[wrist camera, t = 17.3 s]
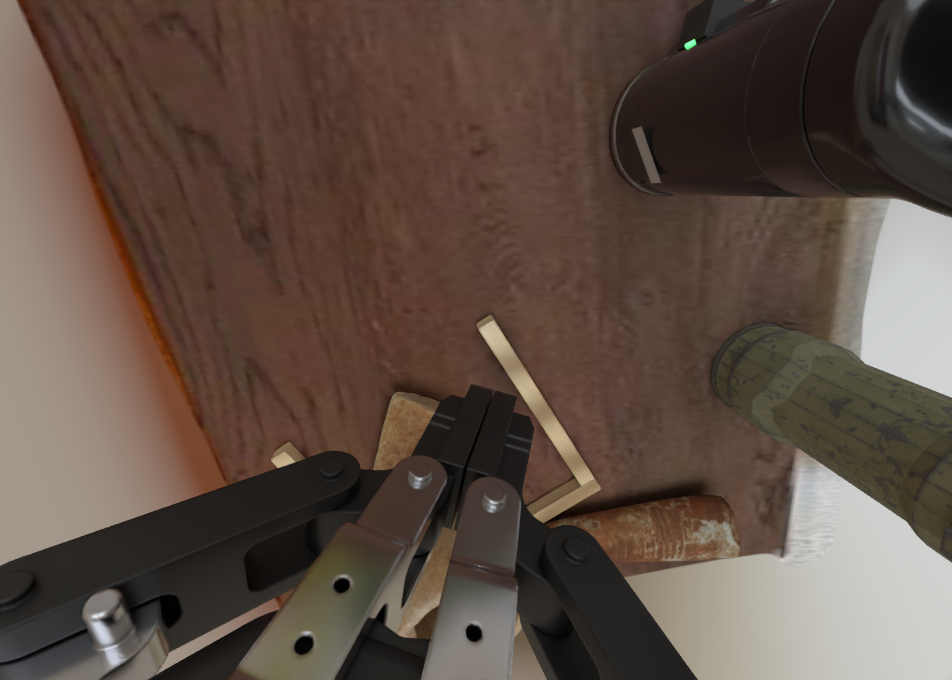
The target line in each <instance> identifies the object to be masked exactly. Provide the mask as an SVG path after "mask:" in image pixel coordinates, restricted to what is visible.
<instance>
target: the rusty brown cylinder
mask: <svg viewBox="0 0 952 680" xmlns="http://www.w3.org/2000/svg"><path fill="white" fill-rule="evenodd" d="M545 525H547V526H548V527H550V528H552V529H553V528H554V527H557V526H560V525H572V526H576V527H579V528H581V529H583V530H585V531H587V532H588V533H589V534H591V535H592V536H593V537H594V538H595V539H596V540H597V541H598V542H599V544H600V545H601V547H602V548H603V549H604V551H605V552H606V553H607V555H608V556H609V558H610V559H611V560H612V562H650V561H685V560H709V559H717V558H733V557H738V556H739V553H740V552H739V550H740V546H741V542H740V539H739V534H738V531H737V528H736V526H735V522H734V513H733V510H732V509H731V507H730V505H729V504H728V503H727V502H726V500H724V499H723V498H722V497H721V496H714V495H692V496H683V497H678V498H669V499H662V500H657V501H651V502H646V503H642V504H635V505H629V506H624V507H619V508H614V509H609V510H604V511H598V512H592V513H587V514H583V515H578V516H573V517H567V518H563V519H559V520H555V521H550V522H547V523H545Z"/></svg>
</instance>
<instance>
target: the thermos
mask: <svg viewBox="0 0 952 680" xmlns="http://www.w3.org/2000/svg"><path fill="white" fill-rule="evenodd" d="M711 384H712V387H713V389H714V391H715V394H716V396H718V397H719V398H720V399H721V400H722V401H723V402H724V403H726V404H727V405H728V406H731V407H733V409H734V410H735V411H736V412H737V413H738V414H739V415H740V416H741V417H743V418H744V419H745V420H747V421H748V422H750V423H751V424H753V425H754V426H755V427H757V428H758V429H760V430H761V431H763V432H764V433H765V434H767V435H768V436H770V437H771V438H773V439H774V440H775V441H778V442H781V443H783V444H786V445H789V446H793V447H797V448H799V449H801V450H802V451H804V452H805V453H807V454H808V455H809V456H811V457H812V458H814V459H815V460H817V461H818V462H820V463H821V464H823V465H824V466H826V467H827V468H829V469H830V470H832V471H833V472H835V473H836V474H837V475H839V476H840V477H842V478H843V479H845V480H846V481H848V482H849V483H851V484H853V485H854V486H855V487H857V488H858V489H860V490H861V491H863V492H864V493H866V494H867V495H868V496H870V497H871V498H873V499H874V500H876V501H877V502H879V503H880V504H882V505H883V506H885V507H886V508H888V509H889V510H891V511H892V512H894V513H895V514H896V515H898V516H899V517H901V518H902V519H904V520H906V521H907V522H908V524H909V525H910V527H911V528H912V529H913V531H914V532H915V533H916V535H917V536H918V537H919V538H920V539H921V540H922V541H923V542H924V543H925V544H926V545H927V546H929V547H930V548H932V549H933V550H935V551H936V552H937V553H939V554H940V555H942V556H943V557H945V558H946V559H948V560H949V561H950V562H952V398H951V397H948V396H946V395H943V394H941V393H938V392H936V391H933V390H931V389H928V388H925V387H923V386H920V385H918V384H915V383H913V382H910V381H907V380H905V379H902V378H900V377H897V376H895V375H892V374H889V373H887V372H884V371H882V370H879V369H877V368H874V367H871V366H869V365H866V364H865V363H864V362H863V361H862V360H861V359H859V358H858V357H857V356H856V355H855V354H854V353H853V352H852V351H849V350H847V349H845V348H842V347H840V346H837V345H835V344H832V343H829V342H827V341H824V340H821V339H819V338H816V337H813V336H811V335H808V334H805V333H802V332H800V331H793V330H788V329H785V328H783V327H781V326H778V325H776V324H772V323H759V324H755V325H751V326H748V327H745V328H744V329H742V330H740V331H739V332H737V333H735V334H734V335H732V336H731V337H730V338H729V339H728V340H727V342H726V343H725V344H724V345H723V346H722V347H721V349H720V350H719V352H718V354H717V355H716V357H715V359H714V362H713V366H712V370H711Z"/></svg>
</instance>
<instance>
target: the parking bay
mask: <svg viewBox="0 0 952 680" xmlns="http://www.w3.org/2000/svg"><path fill="white" fill-rule="evenodd" d="M476 326H477V328H478V330H479V332H480V333H481V335H482V336H483V338H484V339H485V341H486V342H487V344H488V345H489V347H490V348H491V350H492V351H493V353H494V354H495V356H496V357H497V359H498V361H499V362H500V364H501V365H502V367H503V368H504V370H505V371H506V373H507V374H508V376H509V377H510V379H511V380H512V382H513V383H514V385H515V386H516V388H517V389H518V391H519V392H520V394H521V396H522V397H523V399H524V400H525V402H526V403H527V405H528V406H529V408H530V409H531V411H532V412H533V414H534V415H535V417H536V418H537V420H538V421H539V423H540V424H541V426H542V427H543V429H544V431H545V432H546V434H547V435H548V437H549V438H550V440H551V441H552V443H553V444H554V446H555V447H556V449H557V450H558V452H559V453H560V455H561V456H562V458H563V459H564V461H565V462H566V464H567V466H568V467H569V469H570V470H571V472H572V473H573V475H574V476H575V478H574V479H572V480H570V481H569V482H567V483H565V484H564V485H562V486H560V487H558V488H557V489H555V490H553V491H552V492H550V493H548V494H547V495H545V496H543V497H542V498H540V499H538V500H537V501H535V502H533V503H531V504H530V505H528V506H526V507H527V509H528V510H529V511H530V513H531V514H532V515H533V516H534V517H535V518H536V519H538V520H539V521H541V522H542V523H544V522H546V521H548V520H549V519H551V518H553V517H555V516H556V515H558V514H560V513H561V512H563V511H565V510H567V509H568V508H570V507H572V506H573V505H575V504H577V503H578V502H580V501H582V500H584V499H585V498H587V497H589V496H590V495H592V494H594V493H595V492H597V491H599V490H601V487H600V486H599V484H598V483H597V481H596V479H595V478H594V476H593V475H592V473H591V471H590V470H589V468H588V467H587V465H586V464H585V462H584V460H583V459H582V457H581V456H580V454H579V452H578V451H577V449H576V448H575V446H574V445H573V443H572V441H571V440H570V438H569V437H568V435H567V434H566V432H565V430H564V429H563V427H562V426H561V424H560V423H559V421H558V419H557V418H556V416H555V415H554V413H553V412H552V410H551V408H550V407H549V405H548V404H547V402H546V400H545V399H544V397H543V396H542V394H541V393H540V391H539V389H538V388H537V386H536V385H535V383H534V382H533V380H532V378H531V377H530V375H529V374H528V372H527V371H526V369H525V367H524V366H523V364H522V363H521V361H520V360H519V358H518V356H517V355H516V353H515V352H514V350H513V348H512V347H511V345H510V344H509V342H508V341H507V339H506V337H505V336H504V334H503V333H502V331H501V330H500V328H499V326H498V325H497V323H496V322H495V320H494V319H493V317H492V315H489V316H487V317H486V318H484V319H483V320H481V321H479V322H478V323H476ZM303 459H306V458H305V457H304V456H303V455H302V454H301V453H300V452H299V451H298V450H297V449H296V448H295V447H294V446H293V445H292V444H291V442H288V443H286V444H285V445H283V446H282V447H280V448H279V449H277V450H276V451H275V453H274V455H273V456H272V458H271V461H272V462H273V463H274V464H275V465H276V466H277V467H278V468H280V467H283V466H286V465H288V464H291V463H294V462H297V461H300V460H303Z"/></svg>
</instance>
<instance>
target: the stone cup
mask: <svg viewBox="0 0 952 680" xmlns="http://www.w3.org/2000/svg"><path fill="white" fill-rule="evenodd" d="M439 403H440V402H439V401H436V400H434V399H431V398H428V397H422V396H420V395H418V394H412V393H405V392H396V393H395V394H394V395H393V396H392V398H391V402H390V405H389V408H388V411H387V415H386V419H385V422H384V425H383V429H382V433H381V437H380V441H379V446H378V452H377V455H376V459H375V463H374V468H373V470H387V469H392V468H394V467H395V466H396V464H397V463H398V462H399V461H401V460H402V459H404V458H406V457H409V456H411V454H412V453H413V451H414V449H415V447H416V445H417V443H418V442H419V440H420V438H421V436H422V434H423V433H424V431H425V429H426V427H427V425H428V424H429V422H430V420H431V418H432V416H433V415H434V413H435V411H436V409H437V407H438V405H439ZM457 512H458V511H457ZM456 516H457V514H456ZM455 521H456V517H455V520H454V523H453V526H452V529H448V528H445V527H443V528H442V530H441V533H440V536H439V538H438V541H437V543H436V545H435V546H434V551H433V554H432V556H431V558H430V560H429V562H428V565H427V567H426V569H425V571H424V573H423V575H422V577H421V579H420V582H419V584H418V586H417V588H416V590H415V592H414V594H413V597H412V599H411V601H410V603H409V605H408V607H407V609H406V611H405V614H404V616H403V618H402V621H401V624H400V626H399V630H398V633H397V634H398V635H399V636H402V637H406V638H421V639H431V635H432V631H433V627H434V623H435V619H436V615H437V610H438V606H439V602H440V598H441V594H442V590H443V586H444V582H445V577H446V573H447V569H448V565H449V561H450V558H451V554H452V550H453V546H454V542H455V538H456V533H457V531H455V530H454V526H455ZM521 628H522V626H521V623H520V618H519V614H518V613H517V612H516V621H515V633H514V638H515V636H516V635H517V634H518V632H519V631H520V630H521Z"/></svg>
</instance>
